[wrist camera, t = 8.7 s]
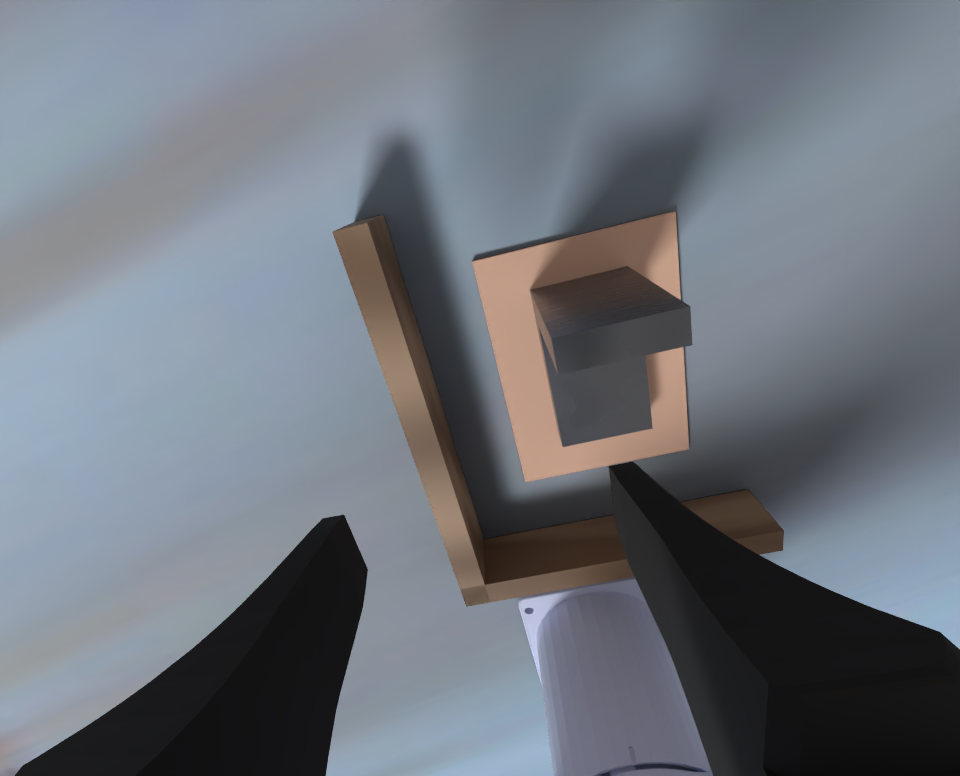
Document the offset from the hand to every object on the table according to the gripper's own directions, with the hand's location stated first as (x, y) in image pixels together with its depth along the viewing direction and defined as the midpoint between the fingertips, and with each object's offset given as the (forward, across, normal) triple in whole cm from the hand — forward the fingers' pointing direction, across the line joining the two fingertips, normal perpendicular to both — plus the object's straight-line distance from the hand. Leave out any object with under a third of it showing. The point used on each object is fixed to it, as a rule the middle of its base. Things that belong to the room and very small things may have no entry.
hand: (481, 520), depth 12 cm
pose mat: (+9, -5, 0) cm, 11 cm away
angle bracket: (+9, -5, 0) cm, 10 cm away
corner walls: (+9, -4, +1) cm, 10 cm away
